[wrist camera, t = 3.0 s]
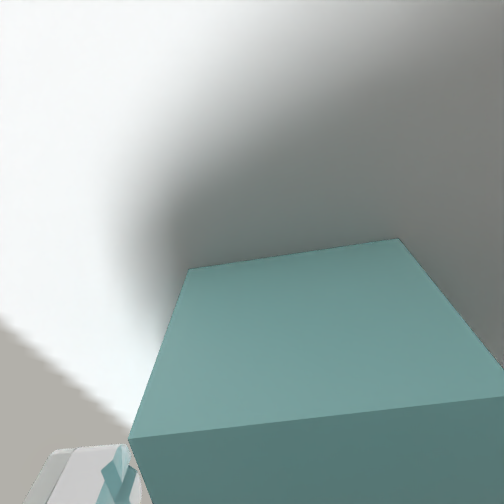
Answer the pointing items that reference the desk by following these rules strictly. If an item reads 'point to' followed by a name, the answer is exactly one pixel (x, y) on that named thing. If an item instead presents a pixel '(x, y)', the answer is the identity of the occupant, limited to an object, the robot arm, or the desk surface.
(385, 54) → the desk surface
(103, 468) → the robot arm
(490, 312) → the desk surface
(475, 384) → the teal brick
